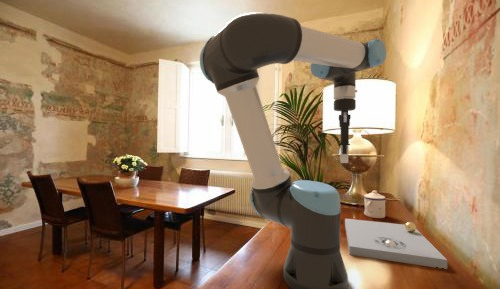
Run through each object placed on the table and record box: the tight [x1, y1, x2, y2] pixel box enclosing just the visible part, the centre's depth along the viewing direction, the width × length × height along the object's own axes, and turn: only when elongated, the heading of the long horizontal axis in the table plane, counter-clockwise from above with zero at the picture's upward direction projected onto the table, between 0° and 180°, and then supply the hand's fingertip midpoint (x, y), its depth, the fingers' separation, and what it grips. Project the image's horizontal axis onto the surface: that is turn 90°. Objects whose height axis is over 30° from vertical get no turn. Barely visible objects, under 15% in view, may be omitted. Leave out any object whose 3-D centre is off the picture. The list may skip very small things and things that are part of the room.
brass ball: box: [404, 221, 417, 232], centre depth 81 cm, size 3×3×3 cm
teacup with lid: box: [363, 190, 387, 219], centre depth 108 cm, size 12×9×12 cm
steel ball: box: [384, 240, 396, 246], centre depth 72 cm, size 3×3×3 cm
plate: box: [344, 218, 448, 270], centre depth 79 cm, size 28×24×2 cm
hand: (344, 162), depth 86 cm, fingers closed
